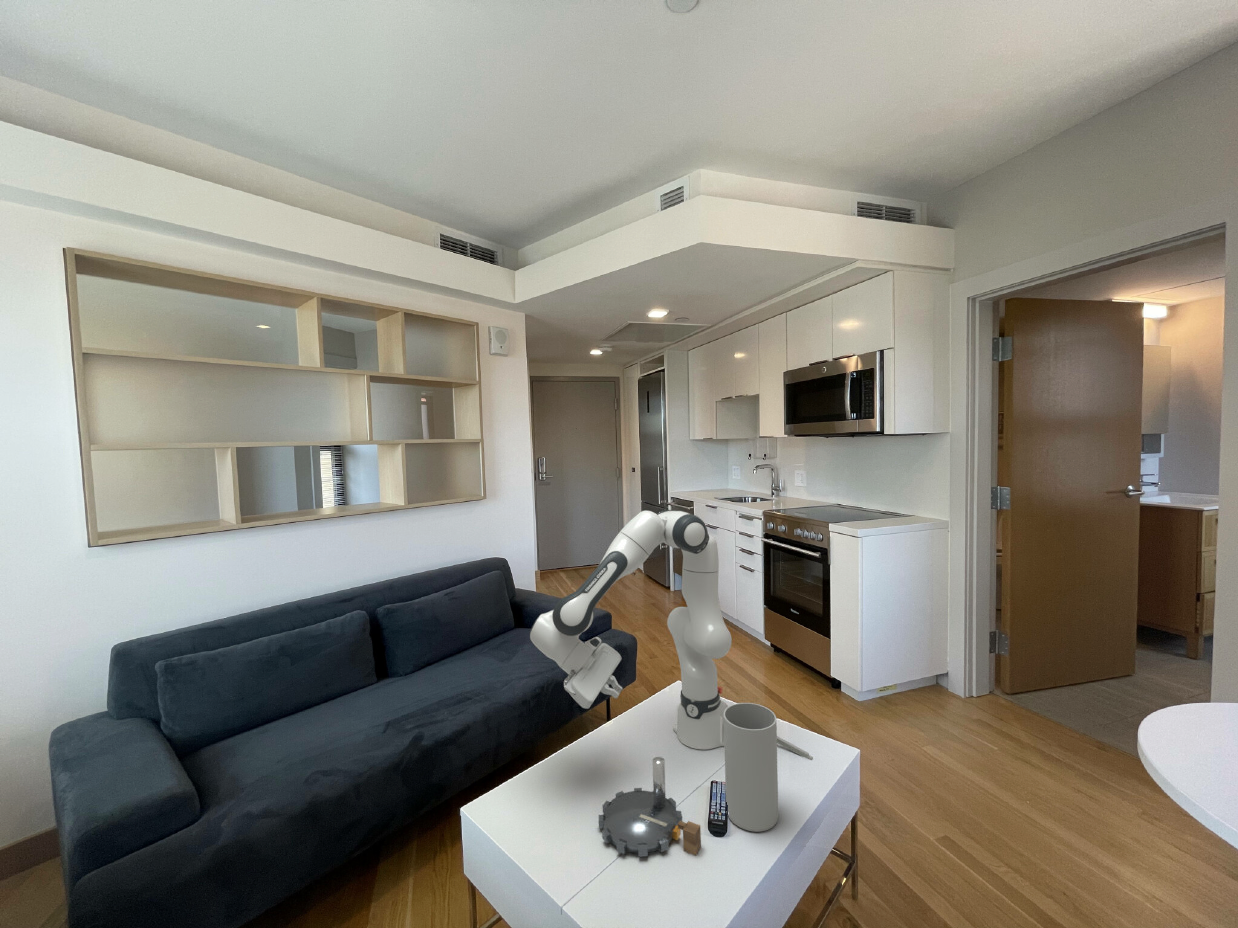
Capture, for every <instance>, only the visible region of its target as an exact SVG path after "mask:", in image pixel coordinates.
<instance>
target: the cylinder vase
mask: <svg viewBox="0 0 1238 928" xmlns="http://www.w3.org/2000/svg"><path fill="white" fill-rule="evenodd" d="M777 727H778V726H777V716H776V714H775V712H774V711H773V710H771V709H770V708H768V707H766V706H763V705H761V704H758V703H752V702H738V703H734V704H731V705H728V707H727V708H726V709H725V711H724V746H723V747H724V775H725V776H724V777H725V778H724V779H725V780H724V781H725V803H726V802H727V805H728V812H729V817H728V818H729V820H731V822H732V823H733V824H734V825H736V826H737V827H739V828H740V829H743V830H745V831H748V832H756V833H759V832H766V831H768V830H770V829H772V828H773V827H775V825H776V824H777V822H778V820H779V783H778V782H779V779H778V777H779V775H778V773H779V772H778V747H777V746H778V743H777V734H778V732H777Z"/></svg>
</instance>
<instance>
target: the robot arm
mask: <svg viewBox="0 0 1238 928" xmlns="http://www.w3.org/2000/svg"><path fill="white" fill-rule="evenodd" d="M661 544H665V545H667V546H669V547H671V548H675V549H680V550H681V552H682V557H683V558H682V573H681V574H682V576H681V594H682V597H683V599H684V601H685V604H686V606H678V607H675V608H674V609H672V611H670V613H669V614H668V617H667V621H666V622H667V623H666V624H667V625H666V626H667V628H668V631H669V632H670V635H671V636H672V639H673V642H674V645H675V648H676V653H677V656H678V660H679V666H680V679H681V690H680V694H679V695H680V697H679V699H680V703H679V704H678V705H677V708H676V709H677V710H676V711H677V712H676V723H675V724H674V725H673V726H672V728H673V729H672V730H673V731H674V733H676V734H677V738H678V740H679V741H680V742H681V744H683V745H685V746H687V747H688V748H691V749H694V750H695V749H696V750H712V749H716V748H719V747H724V711H725V709H726V708H727V707H729V705H728V704H727V703H726V702H724V701H723V700H721V695H720V694H722V693H723V687H722V686H719V685H718V669H717V665H716V662H715V661H714V660H716V659H717V660H718V659H721V658H724V657H725V656H726V655H727V654H728V653H729V651H730V649H731V647H732V643H733V642H732V640H733V639H732V635H731V632H730V631H729V629H728V627H727V625H726V623H725V620H724V618H723V617H724V616H723V613H722V609H721V604H720V601H719V569H720V567H719V565H720V564H719V563H720V560H719V551H718V549H719V547H718V542H717V540H716V538H715V537H713V536H712V535H711V534H709V533H708V528H707V525H706V524H705V521H704V520H702V518H700V517H699V516H698V515H695V514H693V513H692V514H691V513H689V512H686V511H683V510H672V509H667V510H662V511H659V512H658V513H655V512H653V511H651V510H642V511H640V512H639V513H638V514H636V515H635V516H634V517H632V518H631V520H629V521H628V522H627V523H626V525H624V527H623V528H621V530H620V531H619V532H618V533H617V535H616V536H615V537H614V539H613V540H612V542H611V543H610V545H609V546H608V549H607V551H605V554H604V555H603V558H602V559H601V560H600V563H599V564H598V566H597V567H596V568H595V569H594V571H592V573H591V574H590V575H589V576H588V577H587V579H585V581H584V582H583V583H582V584H581V586H579V587H578V589H577V590H575V591H574V592H573V593H570V594H568V595H565V596H564V597H563V598H561V599H559V601H557V603H556V604H555V606H554V608H553V609H552V610H550V611H548V612H544V613H540V615H538V617H537V618H536V619H535V621H534V623H533V625H532V626H531V628H530V631H529V638H530V641H531V642H532V643H533V645H534V646H535V648H537V649H538V650H539V651H540V652H541V653H543V654H544V655H545V656H546V657H547V658H548V659H551V660H553V661H554V662H556V664H557V665H558V667H559V668H560V669H562V670H563V671H564V672H565V673H566V674H567V677H566V678H564V681H563V687H564V688H563V689H564V690H565V691H566V692H567V693H569V695H570V696H571V697H572V698H573V700H574V701H575V702H576V703H577V704H578V705H579V706H580V707H581V708H583V709H585V710H586V709H590V707H591V706H592V705H593V703H594V701H595V700H596V699H597V697H598V696H599V694H600V693H602V694H604V695H608V696H612V698H614V699H618V697H619V696H620V694H621V692H622V691H623V689H624V688H623V686H622V685H620V684H619V683H618V681H617V679H616V677H615V676H614V675H613V673H614V672H615V670H616V668H617V667H618V665H619V664H620V662H621V661H622V660H623V659H622V656H621V654H620V653H619V652H618V651H617V650H615V648H613V646H612V647H611V645H609V644H607V643H604V642H602V639H601V638H600V637H599V636H595V637H593V638H591V639H588V640H587V641H586V640H585V642H583V641H582V640H581V639H580V638H579V637H580V636H581V635H582V634H583V633H584V632H586V631H587V630H588V629H589V628H590V627H591V625H592V623H593V620H594V610H595V607H596V605H597V604H598V603H599V602H600V601H601V600H602V598H603V597H604V596H605V594H607V593H608V591H609V590H610V589H611V588H612V586H613V585H614V584H615V583H616V582H618V581H619V580H620V579H621V578H623V577H625V576H628V575H631V574H633V573H634V572H635V571H636V570H637V569H638V568H639V567H641V566H642V565H643V564H644V563H645V562H646V561H647V559H648V558H649V556H651V554H652V553H653V552H654V550H655V549H656V548H657V547H658V546H660V545H661ZM713 659H714V660H713ZM609 685H611V687H610V686H609Z"/></svg>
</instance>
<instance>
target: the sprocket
mask: <svg viewBox="0 0 1238 928" xmlns="http://www.w3.org/2000/svg"><path fill="white" fill-rule="evenodd" d="M665 761H666V760H665V758H664V757H662V756H655V757H653V758H652V783H653V785H652V787H653V788H652V789H653V790H652V791H649V790H643V787H634V788H633V790H632V791H627V792H624V791H622V790H620V791H618V792H617V793H615V797H614V798H612V800H610V801H609V800H605V802H604V803H603V804H602V814H599V815H598V828H599V829H602V830H601V834H602V835H601V838H602V840H603V841H604V842H605V843H606V845H607V844H609V843H611V844H613V845H614V846H615V847H616V852H618V853H621V854H622V855H625V854H626V853H627V852H630V853H637V855H638V857H649V856H648V854H649V853H651V852H654V851H657V850H658V851H660V852H661V853H663V852H666V850H669V843H671V842H672V841H673V840H675V841H678V840H679V838H680V836H681V831H682V830H681V829H678V823H679V821H682V822H683V814H682V811H681V810H677V802H676V801H675V799H673V797H669V798H667V793H666V791H667V790H666V766H665V765H666V764H665V763H666V762H665Z"/></svg>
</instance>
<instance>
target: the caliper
mask: <svg viewBox="0 0 1238 928" xmlns="http://www.w3.org/2000/svg"><path fill="white" fill-rule="evenodd" d="M777 745H780V746H782V747H784V748H786V749H787V750H789V751H791V752H793V753H795V754H796V755H798V756H800V757H802V758H804V759H809V760H811V761H812V760H813V759H814V757H813V756H811V755H810V753H809V752H808V751H805V750H804V749H802V748H800V747H798V746H796V745H795V744H792V743H790V742H789V741H787V740H785V739H784V738H781V737H780V736H777Z"/></svg>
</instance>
